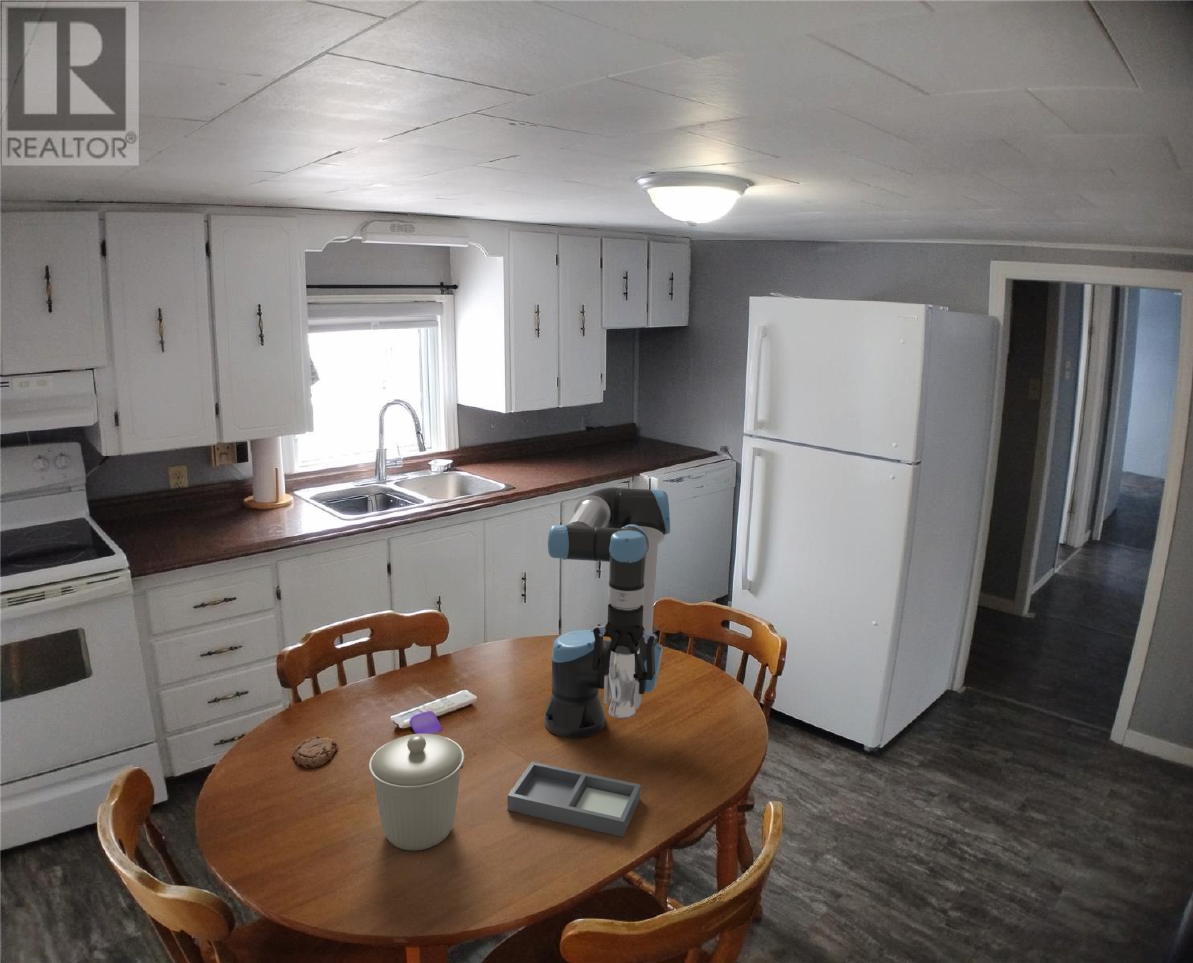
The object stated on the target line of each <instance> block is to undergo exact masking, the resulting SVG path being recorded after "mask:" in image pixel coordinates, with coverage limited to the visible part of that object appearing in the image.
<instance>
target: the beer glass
mask: <svg viewBox="0 0 1193 963" xmlns="http://www.w3.org/2000/svg"><path fill="white" fill-rule="evenodd" d="M639 652H640V648H639V650H638V651H637V653H636V652H635V653H632V654H631V652H630V650H629V648H628V647H625V646H617V647H616V650H615V652H614V651H612V650H611V648H609V656H608V680H609V686H610V700H609V702H608V708H607V712H608V714H609V715H610V716H611V717H614V718H615V719H628V718H632V717H634V716H635V715H636V712H637V711H636V710H637V709H634V701H635V681H636V680H638V675H637V654H639Z"/></svg>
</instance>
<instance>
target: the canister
mask: <svg viewBox="0 0 1193 963" xmlns="http://www.w3.org/2000/svg"><path fill="white" fill-rule="evenodd" d="M464 762H465V751H464V749H463V747H461V745H459V743H458V742H456V741H455V740H454V739H451V738H449V737H446V736H443V735H440V734H436V733H433V734H415V733H413V734H407V735H404V736H403V735H402V736H400V737H397V738H395V739H392V740H390V741H388V742H386V743H385V744H383V745H382V746H380V747H379V748H377V750H375V752H373V754H372V755H371V757H370V759H369V761H368V771H369V773H370V775H371V776H372V778H373V783H374V788H375V793H376V800H377V806H378V812H379V816H380V822H381V826H382V831H383V833H384V835H385V837H386V839H387V840H388V841H389V842H390V844H392V845H393V846H394V847H396V848H400V850H405V851H422V850H427V849H430V848H432V847H435V846H436V845H439V844H440V843H441V842H443V841H444V840H445V839H446V838H448V835H449V834H450V832H451V830H452V828H453V827H454V824H455V818H456V812H457V804H458V798H459V796H458V794H459V785H460V778H461V777H460V776H461V768H462V767H463V764H464Z"/></svg>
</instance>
